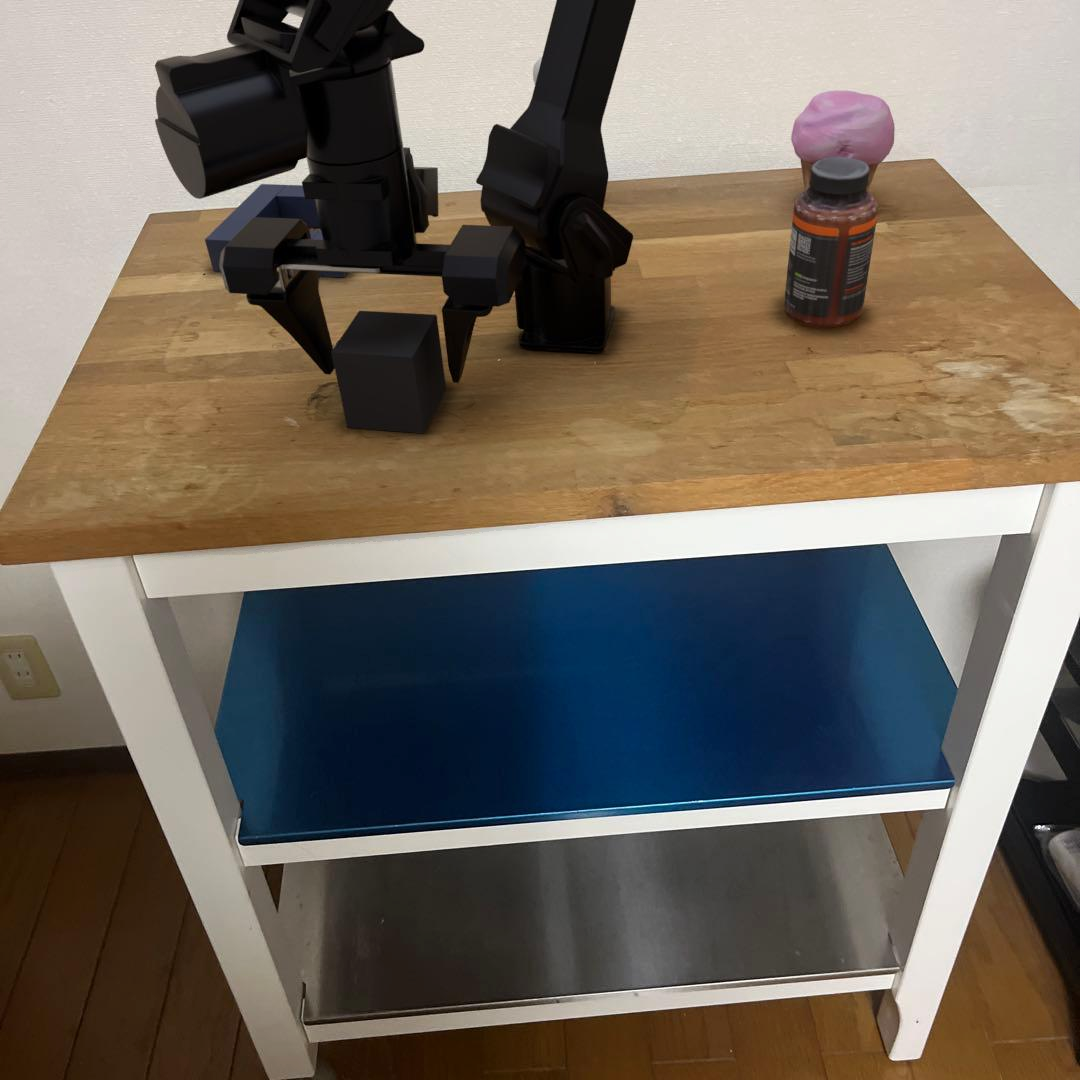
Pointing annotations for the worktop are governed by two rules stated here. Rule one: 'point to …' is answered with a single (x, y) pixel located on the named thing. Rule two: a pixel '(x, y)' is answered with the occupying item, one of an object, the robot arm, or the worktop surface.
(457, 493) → the worktop surface
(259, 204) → the base
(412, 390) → the black cube
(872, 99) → the cupcake
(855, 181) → the supplement bottle
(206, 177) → the robot arm
